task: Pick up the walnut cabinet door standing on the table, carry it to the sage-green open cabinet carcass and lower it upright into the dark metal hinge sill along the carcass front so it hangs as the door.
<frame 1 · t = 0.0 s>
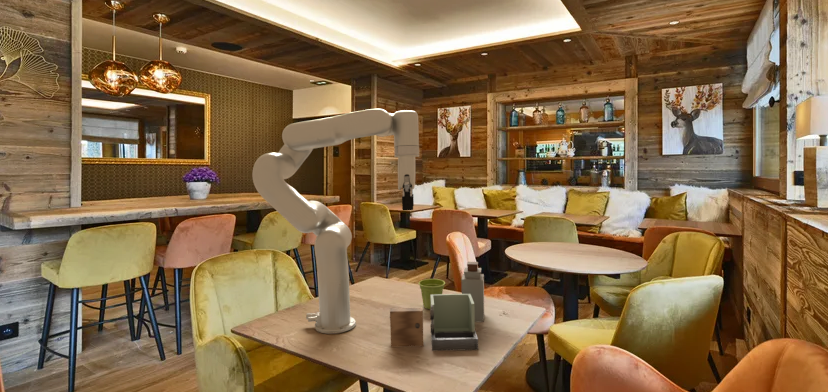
hand: (408, 208, 127), 37 cm above the table, tool pointing down, fingers open, 9 cm apart
door: (407, 344, 116), on the table
perfume bottle: (473, 318, 135), on the table
plant pot: (432, 307, 146), on the table
hinge sill: (454, 345, 114), on the table
carcass: (452, 335, 121), on the table
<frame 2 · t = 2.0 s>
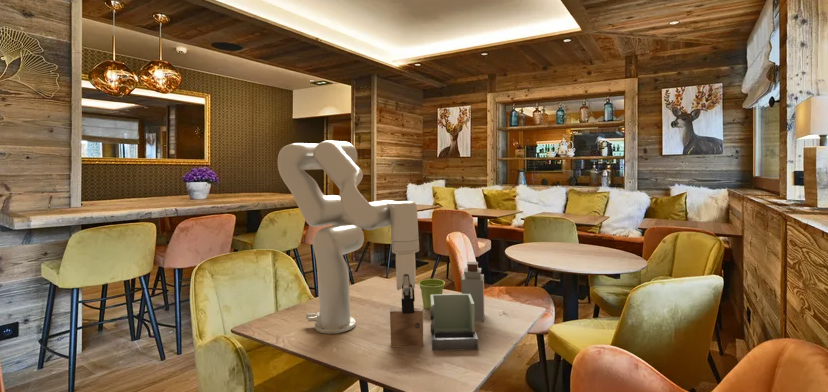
hand: (408, 307, 115), 11 cm above the table, tool pointing down, fingers open, 9 cm apart
nothing on the table moved.
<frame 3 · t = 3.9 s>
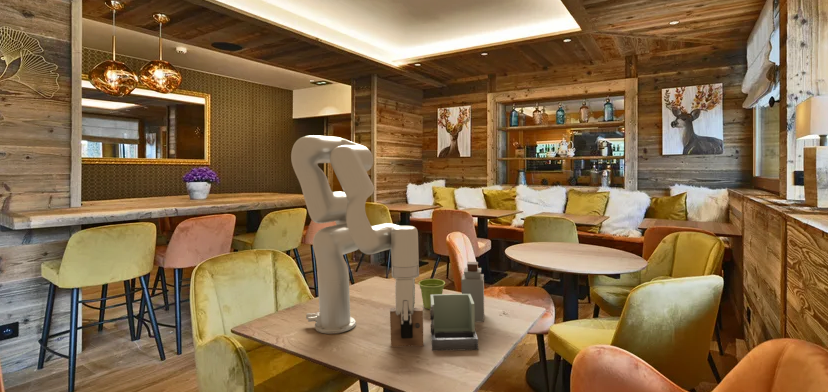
hand: (407, 334, 116), 3 cm above the table, tool pointing down, fingers closed on door, 2 cm apart
door: (407, 344, 116), on the table, touching gripper
everything else where it was.
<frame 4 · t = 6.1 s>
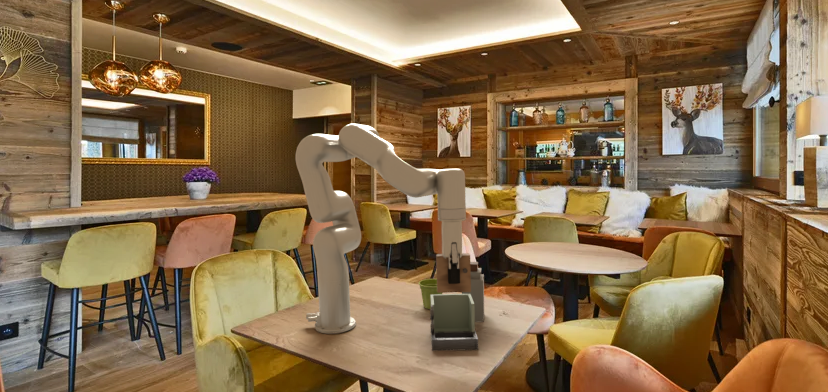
hand: (453, 281, 113), 18 cm above the table, tool pointing down, fingers closed on door, 2 cm apart
door: (453, 290, 113), point 15 cm above the table, touching gripper
everything else where it was.
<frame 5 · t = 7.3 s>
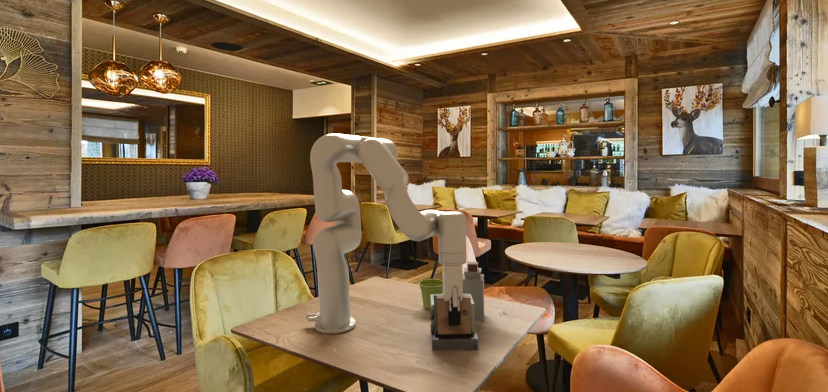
hand: (454, 322, 114), 7 cm above the table, tool pointing down, fingers closed on door, 2 cm apart
door: (454, 332, 114), point 4 cm above the table, touching gripper
everything else where it was.
when the fingers open (4 cm above the table, at t = 8.3 s): door drops 1 cm, resting in hinge sill.
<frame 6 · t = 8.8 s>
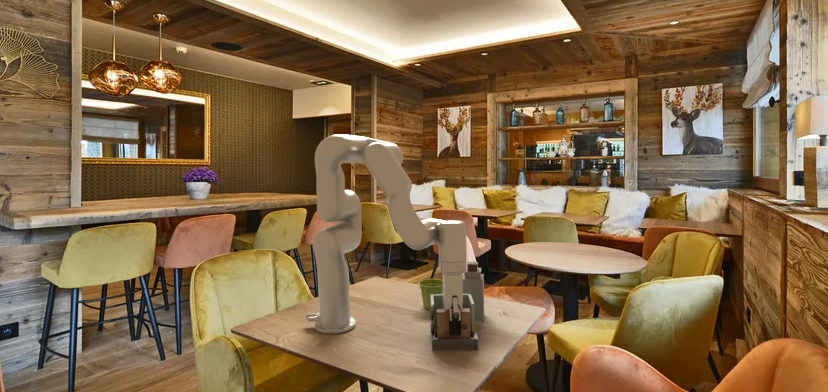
hand: (453, 328, 114), 5 cm above the table, tool pointing down, fingers open, 7 cm apart
door: (453, 345, 114), resting in hinge sill
everything else where it was.
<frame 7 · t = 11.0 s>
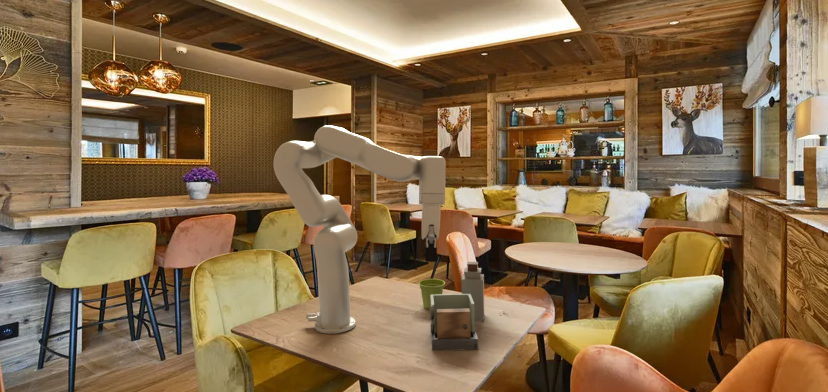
hand: (431, 257, 121), 23 cm above the table, tool pointing down, fingers open, 9 cm apart
nothing on the table moved.
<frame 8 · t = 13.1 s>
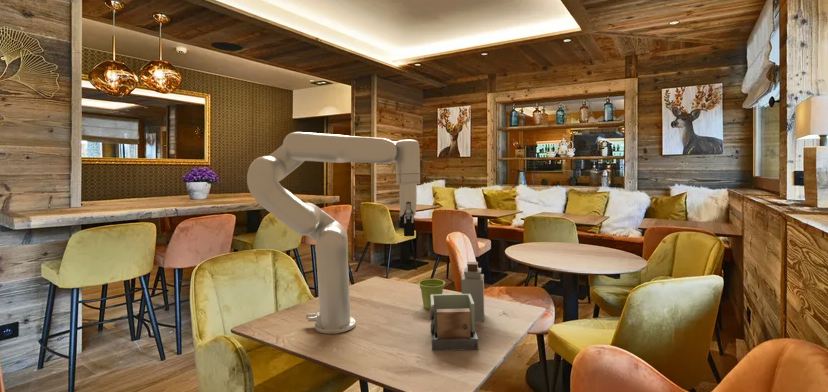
hand: (409, 233, 132), 28 cm above the table, tool pointing down, fingers open, 9 cm apart
nothing on the table moved.
at the end: door 0.2 cm from the target spot on the table beside the carcass, resting in hinge sill; door tilted 0°; the gripper is holding nothing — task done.
